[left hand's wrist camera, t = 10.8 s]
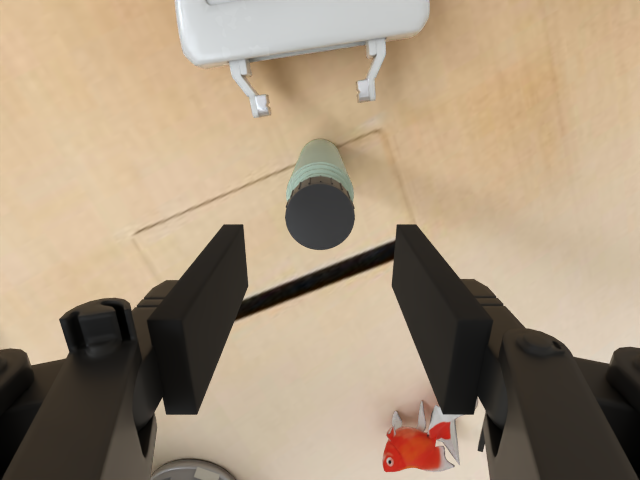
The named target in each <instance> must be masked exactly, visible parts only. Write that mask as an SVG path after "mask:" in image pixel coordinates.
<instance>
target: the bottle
mask: <svg viewBox="0 0 640 480" xmlns="http://www.w3.org/2000/svg"><path fill="white" fill-rule="evenodd" d="M320 175H321V176H324V177H329V178H331V177H332V179H334V180H336V181H338V182H339V183H340V182H341V183H342V185H343V186H344V188H345V189H346V190H348V192H349V195H350V199H351V200H352V202H353V198H354V192H353V186H352V183H351V181H350V178H349V176H348V173H347V171H346V168H345V166H344V163H343V161H342V158H341V156H340V154H339V151H338V149H337V148H336V146H335V145H334V144H333V143H331V142H330V141H327V140H324V139H316V140H313V141H310V142H309V143H307V144H306V145H305V146H304V148H303V149H302V151H301V154H300V156H299V158H298V161H297V163H296V166H295V168H294V171H293V173H292V176H291V178H290V181H289V183H288V186H287V192H286V198H287V202H288V199H290V196H291V193H292V190H294V189H295V188H296V186H297V185H298V184H299V182H302V181H304V180H306V179H308V178H309V177H316V176H320Z"/></svg>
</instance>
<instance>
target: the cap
mask: <svg viewBox="0 0 640 480" xmlns="http://www.w3.org/2000/svg"><path fill="white" fill-rule="evenodd" d="M286 208H287V209H286V215H285V219H286V225H287V228H288V230H289V232H290V234H291V236H292V237H293V238H294V239H295V240H296V241H297V242H298V243H300V244H301V245H303V246H305V247H307V248H310V249H315V250H325V249H330V248H333V247H335V246H337V245H339V244H340V243H342V242H343V241H344V240H345V239H346V238H347V237H348V236H349V234H350V232H351V230H352V228H353V225H354V220H355V214H354V209H355V208H354V205H353V202H352V200H351V199H350V195H349V192H348V190H346V189H345V188H344V186H343V185H342V183H341V182H340V183H339V182H338V181H336V180H334V179H332V177H331V178H329V177H324V176H321V175H320V176H316V177H309V178H308V179H306V180H304V181H302V182H299V184H298V185H297V186H296V188H295V189H294V190H292V193H291V196H290V199H288V202H287V205H286Z"/></svg>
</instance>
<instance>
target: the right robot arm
mask: <svg viewBox="0 0 640 480" xmlns="http://www.w3.org/2000/svg"><path fill="white" fill-rule="evenodd" d="M175 10H176V18H177V25H178V31H179V37H180V42H181V47H182V51H183V54H184V56H185V57H186V58H187V59H188V60H189V61H190V62H191V63H192V64H194V65H195V66H197V67H199V68H203V69H211V68H218V67H224V66H230V70H231V75H232V78H233V79H234V80H235V81H236V83H237V84H238V85H239V86H240V88H241V89H242V90H243V91H244V93H245V94H246V95H247V97H249V99H250V104H251V109H252V114H253V117H254V118H257V117H264V116H270V115H271V108H270V107H269V106H268V105H269V103H270V102H269V96H268V95H266V94H265V95H259V94H258V93H257V92H256V90H255V89H254V88H253V86H252V85H251V84H250V82H249V81H248V80H247V78H246V77H250V76H252V72H251V66H250V63H251V62H257V61H264V60H270V59H277V58H284V57H290V56H297V55H303V54H310V53H317V52H323V51H330V50H336V49H343V48H349V47H356V46H363V45H365V46H366V57H367V59H370V58H373V60H372V63H371V65H370V68H369V70H368V73H367V75H366V78H365V80H360V81H357V82H356V90H357V91H358V94H357V101H358V103H361V102H368V101H375V99H376V93H375V79H374V78H376V76H377V74H378V72H379V69H380V67H381V65H382V62H383V60H384V58H385V55H386V42H389V41H396V40H402V39H408V38H412V37H414V36H415V35H417V34H418V33H419V32H420V31H421V30H422V29H423V27H424V26H425V24H426V22H427V21H428V18H429V14H430V0H175Z"/></svg>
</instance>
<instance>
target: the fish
mask: <svg viewBox="0 0 640 480" xmlns="http://www.w3.org/2000/svg"><path fill="white" fill-rule="evenodd" d="M477 405H478V398H477V401H476V406H475V409H476V407H477ZM460 416H462V415H443V414H442V411H441V408H440V407H438V406H437V405H435V407H434V409H433V412H432V415H431V421H430V425H429V429H428V433H424V430H425V428H426V420H425V415H424V409H423V402H422V401H421V405H420V410H419V417H418V425H417V427H416V429H415V428H412V427H401V426H402V420H401V418H400V417H399V415H398V413H397V411H395V412H394V414H393V418H392V427H391V428H390V429H389V431H388V432H387V437H388V438H389V439H388V441H387V443H386V447H385V451H384V454H383V468H384V471H385V472H396V471H400V470H403V469H407V468H418V469H422V470H425V471H431V472H440V471H444V470H447V469H450V468H453V467H454V465H453V464H451V463H450V462H448V461H447V460H446V458H445V449H444V446H437V447H435V443H436V440H438V441H441V442H443V443H444V444H445V446H446V447H447V449H448V450H449V452H450V453H451V454H452V456H453V457H454V458H455V460H456V461H457V462H458V464H459V465H460V462H459V452H458V442H457V433H456V425H455V419H456V418H458V417H460Z"/></svg>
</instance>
